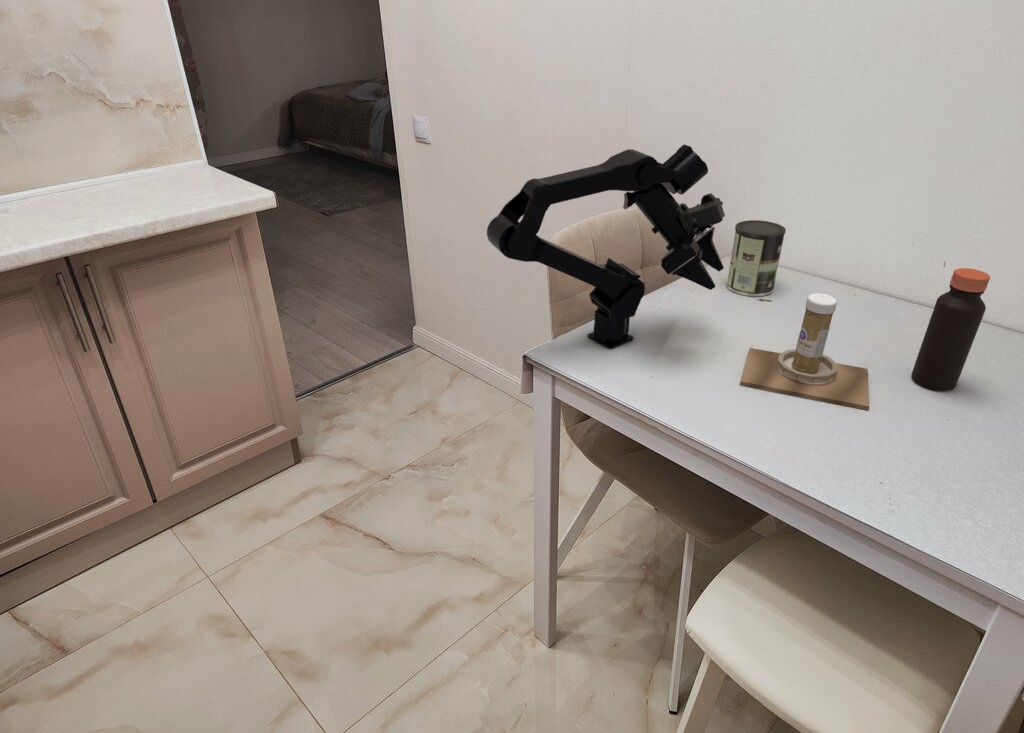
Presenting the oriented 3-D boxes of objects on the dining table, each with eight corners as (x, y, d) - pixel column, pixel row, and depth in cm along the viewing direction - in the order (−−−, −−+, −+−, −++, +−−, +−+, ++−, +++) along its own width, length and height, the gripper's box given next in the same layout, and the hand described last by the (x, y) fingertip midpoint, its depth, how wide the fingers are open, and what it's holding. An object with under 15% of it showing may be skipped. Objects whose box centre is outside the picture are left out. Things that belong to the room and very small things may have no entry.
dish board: (739, 385, 114) (742, 372, 113) (748, 351, 124) (751, 339, 123) (868, 410, 107) (872, 397, 106) (866, 372, 117) (870, 360, 116)
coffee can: (770, 280, 153) (782, 220, 146) (776, 298, 145) (789, 236, 138) (724, 277, 155) (733, 218, 148) (727, 295, 147) (737, 233, 139)
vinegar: (903, 380, 115) (939, 272, 105) (921, 367, 119) (958, 262, 109) (944, 396, 110) (986, 285, 100) (962, 383, 114) (1005, 274, 104)
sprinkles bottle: (785, 365, 117) (801, 295, 111) (804, 359, 119) (821, 290, 112) (805, 377, 114) (823, 305, 107) (825, 371, 115) (843, 300, 109)
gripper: (689, 197, 106) (749, 272, 108) (709, 170, 121) (762, 236, 122) (636, 238, 113) (693, 308, 115) (661, 208, 128) (712, 270, 129)
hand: (717, 278), depth 120 cm, fingers open, 9 cm apart
